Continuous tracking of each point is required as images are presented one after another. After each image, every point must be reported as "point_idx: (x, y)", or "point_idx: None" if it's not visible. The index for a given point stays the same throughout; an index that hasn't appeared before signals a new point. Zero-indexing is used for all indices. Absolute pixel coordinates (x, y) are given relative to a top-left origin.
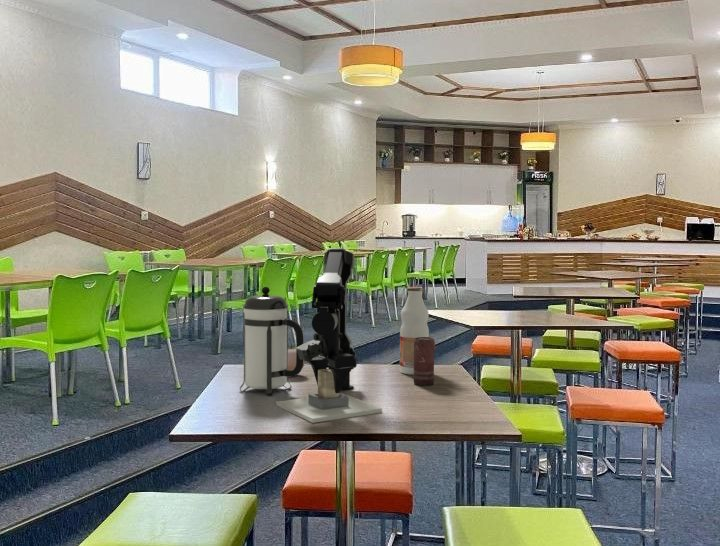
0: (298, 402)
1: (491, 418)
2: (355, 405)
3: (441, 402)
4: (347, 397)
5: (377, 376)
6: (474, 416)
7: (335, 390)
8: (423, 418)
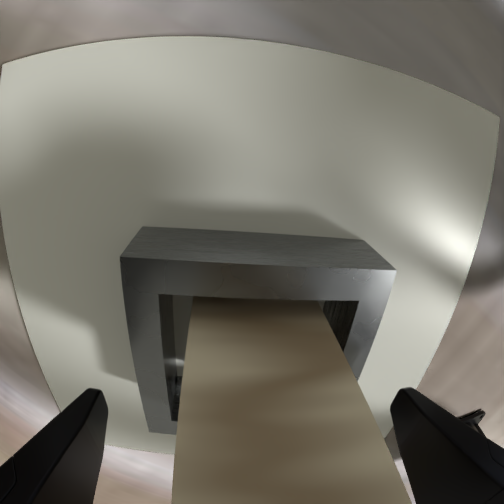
0: (426, 204)
1: None
2: None
3: None
4: (148, 424)
5: None
6: None
7: (80, 401)
8: (2, 433)
